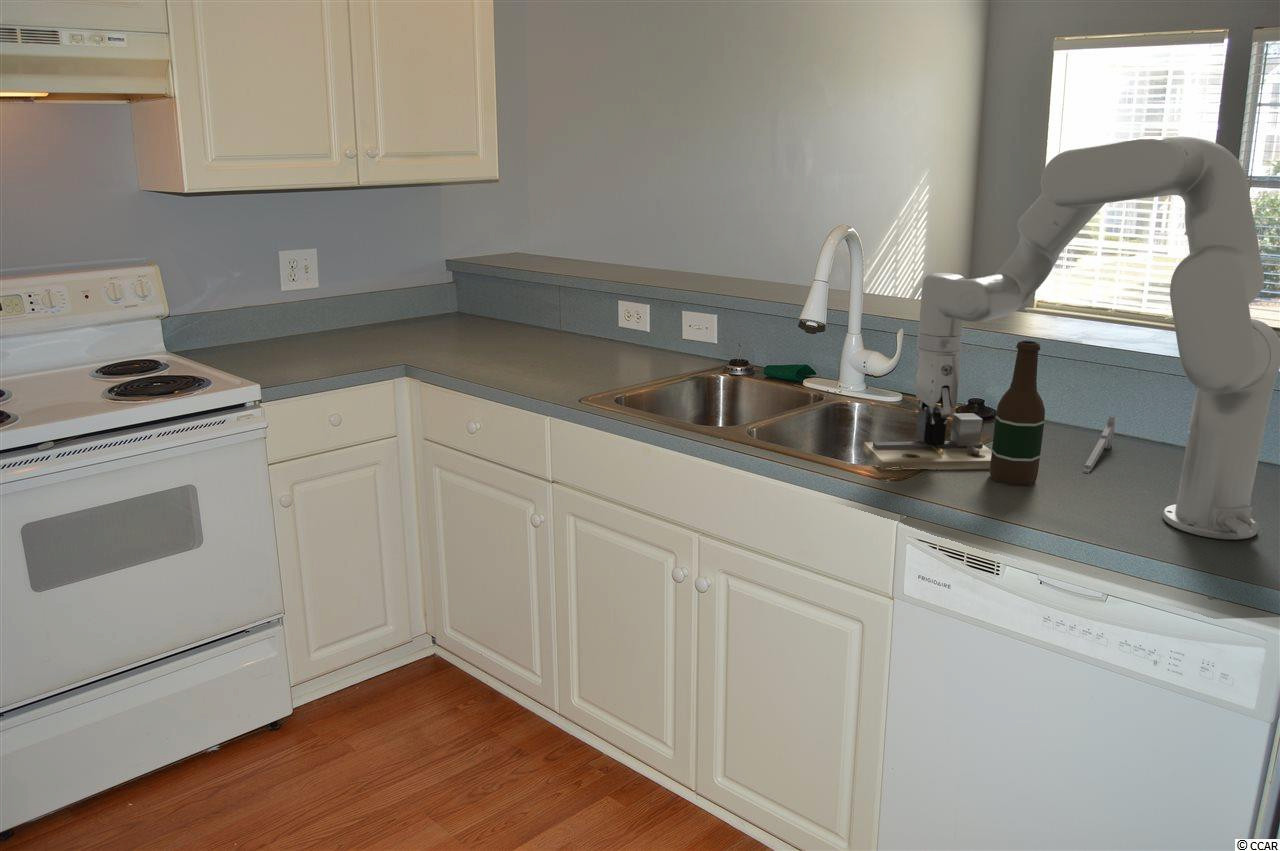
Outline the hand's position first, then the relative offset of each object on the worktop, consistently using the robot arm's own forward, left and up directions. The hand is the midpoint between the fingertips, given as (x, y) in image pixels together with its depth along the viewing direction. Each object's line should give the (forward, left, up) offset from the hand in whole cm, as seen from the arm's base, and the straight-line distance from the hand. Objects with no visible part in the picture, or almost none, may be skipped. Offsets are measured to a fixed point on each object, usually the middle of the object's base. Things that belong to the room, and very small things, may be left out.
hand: (930, 439), depth 184 cm
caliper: (-4, -31, -3) cm, 31 cm away
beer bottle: (-14, -10, -3) cm, 18 cm away
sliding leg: (-2, 0, -1) cm, 2 cm away
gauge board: (-2, 0, -3) cm, 4 cm away
